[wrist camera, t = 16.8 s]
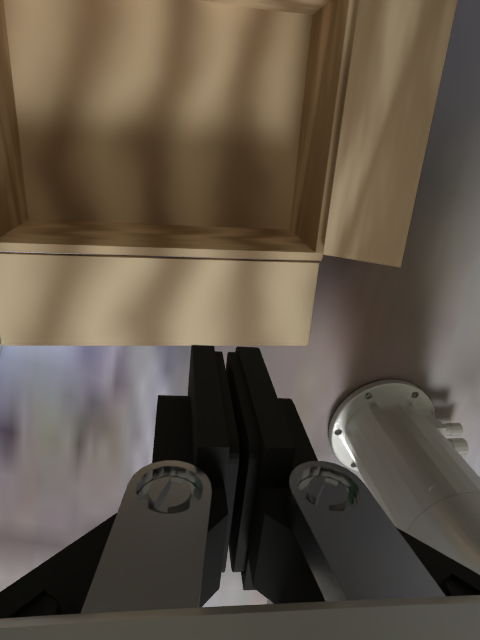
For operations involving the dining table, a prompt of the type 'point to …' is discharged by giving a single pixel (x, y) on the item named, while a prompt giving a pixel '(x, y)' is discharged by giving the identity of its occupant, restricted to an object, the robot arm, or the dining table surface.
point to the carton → (167, 168)
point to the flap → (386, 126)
